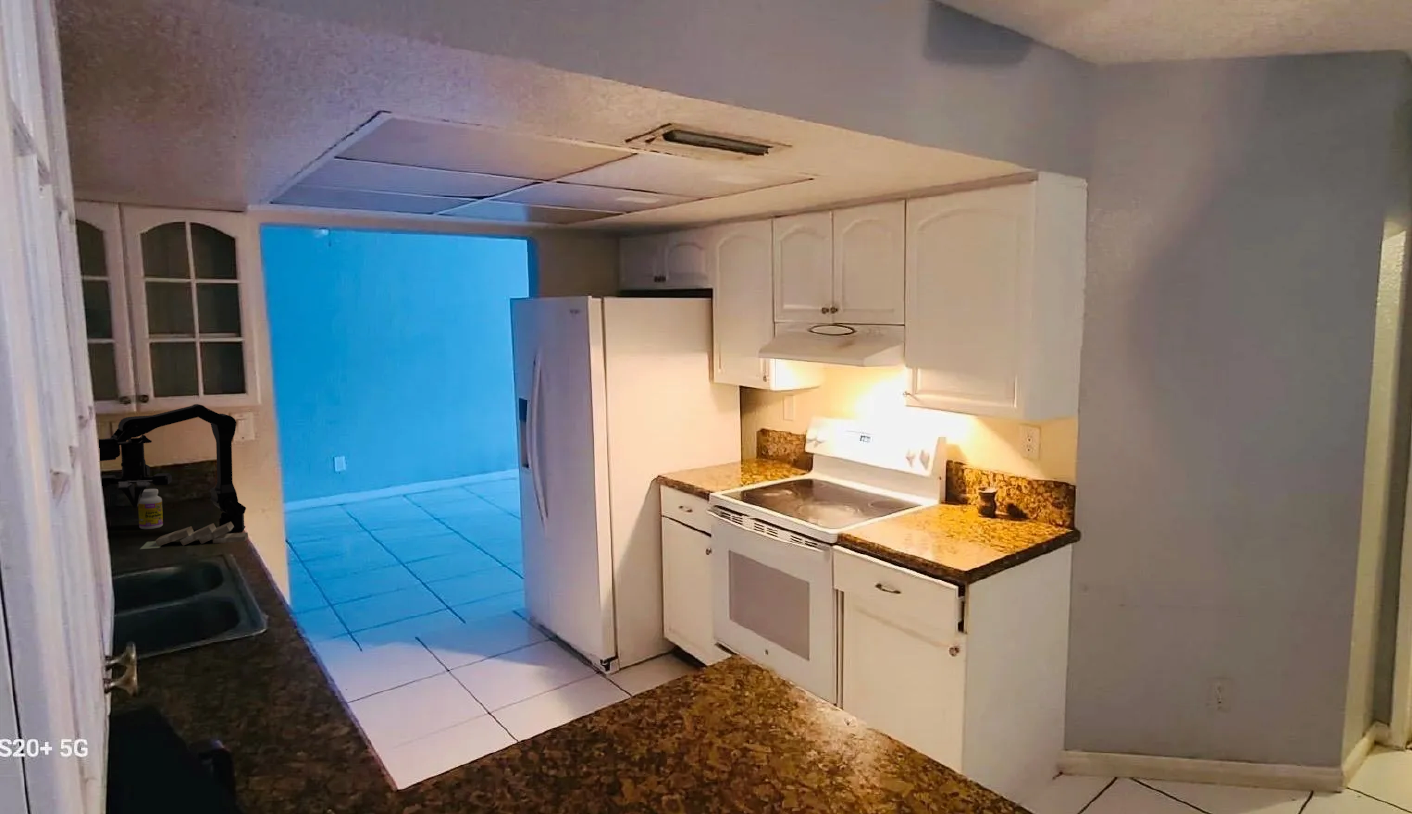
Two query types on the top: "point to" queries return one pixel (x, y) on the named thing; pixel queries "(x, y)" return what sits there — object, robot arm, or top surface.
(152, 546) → the gap pad
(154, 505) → the supplement bottle
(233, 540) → the domino
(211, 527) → the domino
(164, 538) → the tile
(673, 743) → the top surface
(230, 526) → the domino
